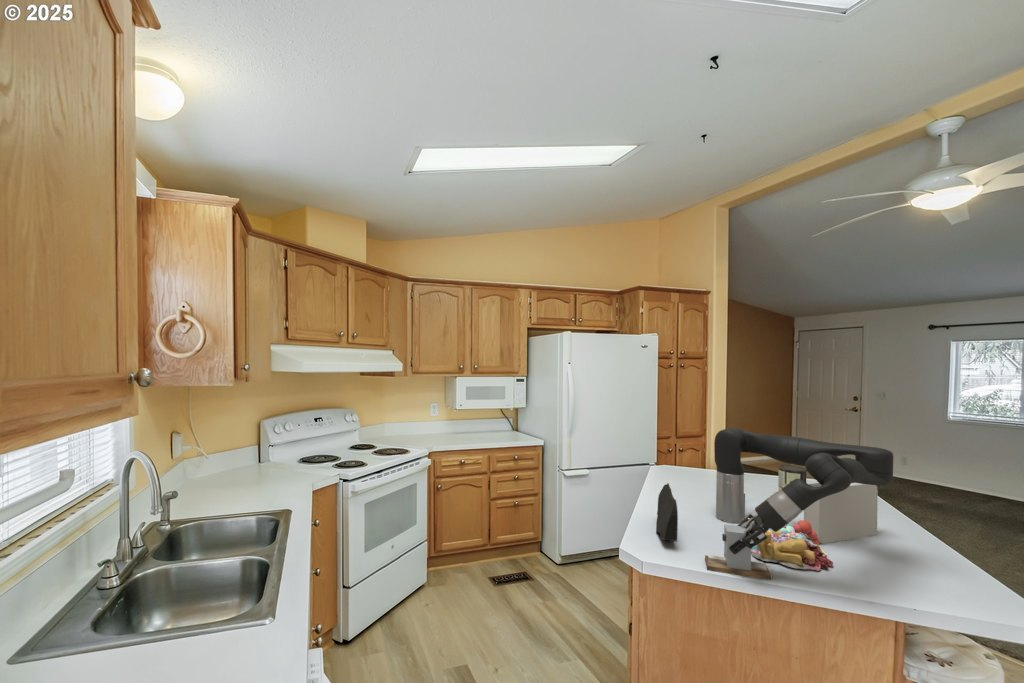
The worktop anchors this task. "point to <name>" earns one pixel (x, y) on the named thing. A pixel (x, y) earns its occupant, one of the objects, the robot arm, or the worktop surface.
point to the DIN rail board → (720, 566)
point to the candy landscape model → (793, 548)
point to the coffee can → (790, 475)
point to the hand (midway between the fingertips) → (730, 546)
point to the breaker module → (742, 557)
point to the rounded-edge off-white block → (844, 514)
